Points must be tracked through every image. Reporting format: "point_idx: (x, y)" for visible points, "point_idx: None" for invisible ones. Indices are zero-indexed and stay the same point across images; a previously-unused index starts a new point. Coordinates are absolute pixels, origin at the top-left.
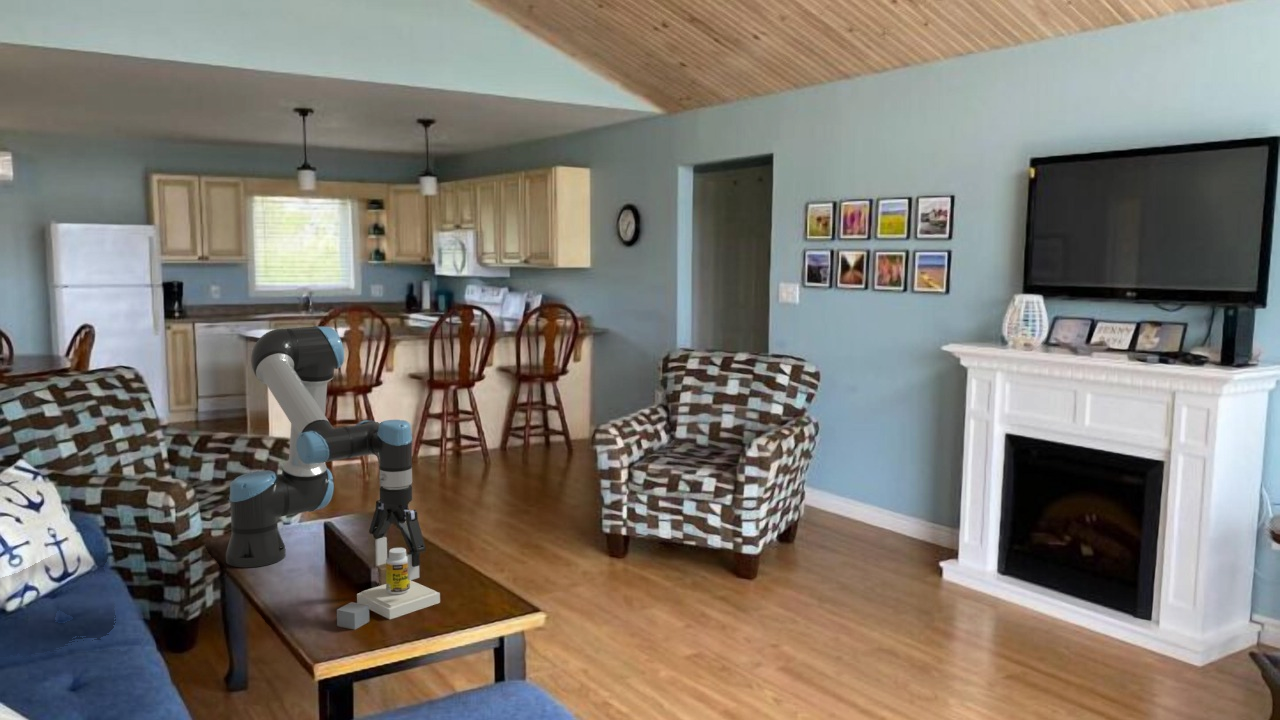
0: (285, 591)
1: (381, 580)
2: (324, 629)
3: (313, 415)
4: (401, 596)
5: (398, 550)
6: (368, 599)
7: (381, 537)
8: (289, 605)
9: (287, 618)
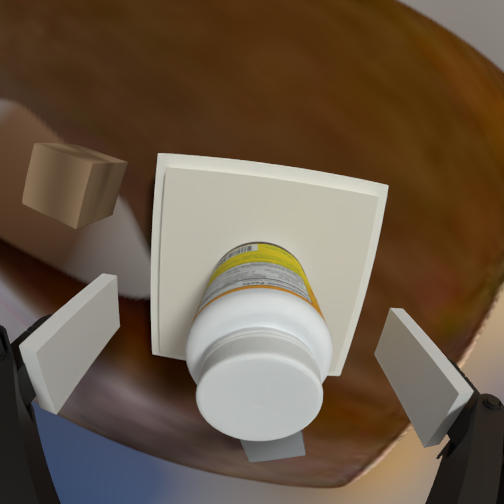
0: None
1: (96, 219)
2: None
3: None
4: None
5: (271, 405)
6: None
7: (25, 372)
8: (77, 403)
9: (138, 442)
